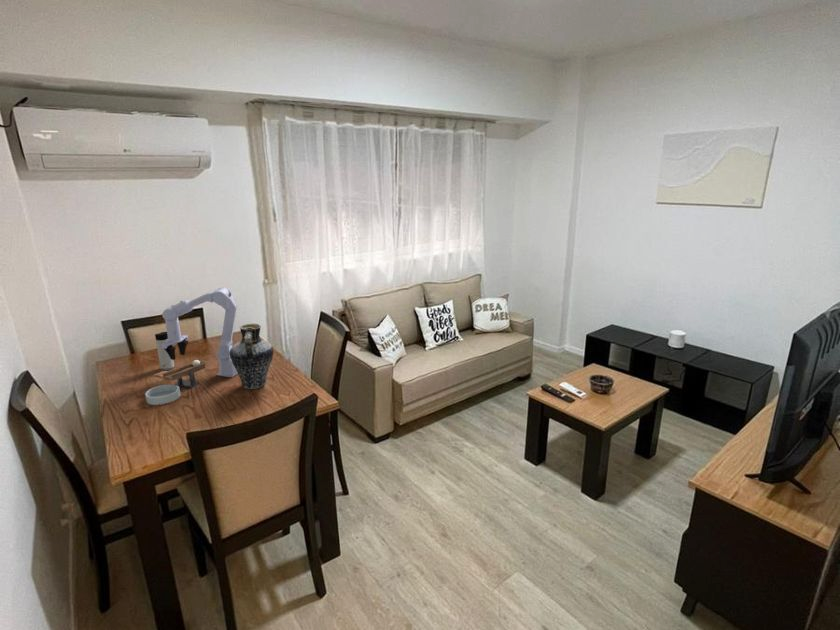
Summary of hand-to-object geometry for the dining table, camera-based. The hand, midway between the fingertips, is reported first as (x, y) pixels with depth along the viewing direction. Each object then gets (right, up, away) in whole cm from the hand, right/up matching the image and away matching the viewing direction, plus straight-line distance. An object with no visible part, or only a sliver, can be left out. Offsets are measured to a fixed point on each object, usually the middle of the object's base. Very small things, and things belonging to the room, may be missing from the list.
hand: (177, 357), depth 223 cm
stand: (+8, -13, -6) cm, 16 cm away
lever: (+4, -8, -7) cm, 11 cm away
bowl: (+4, -17, -19) cm, 25 cm away
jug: (+41, -13, -6) cm, 43 cm away
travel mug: (-12, -7, +12) cm, 19 cm away
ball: (+10, -3, -1) cm, 10 cm away
